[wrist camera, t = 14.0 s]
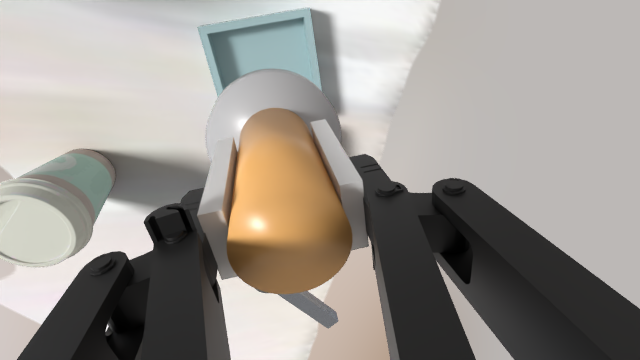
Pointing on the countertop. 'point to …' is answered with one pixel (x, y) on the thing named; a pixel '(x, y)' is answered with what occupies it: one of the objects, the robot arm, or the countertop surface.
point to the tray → (261, 46)
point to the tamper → (280, 183)
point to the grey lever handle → (311, 307)
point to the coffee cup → (53, 208)
